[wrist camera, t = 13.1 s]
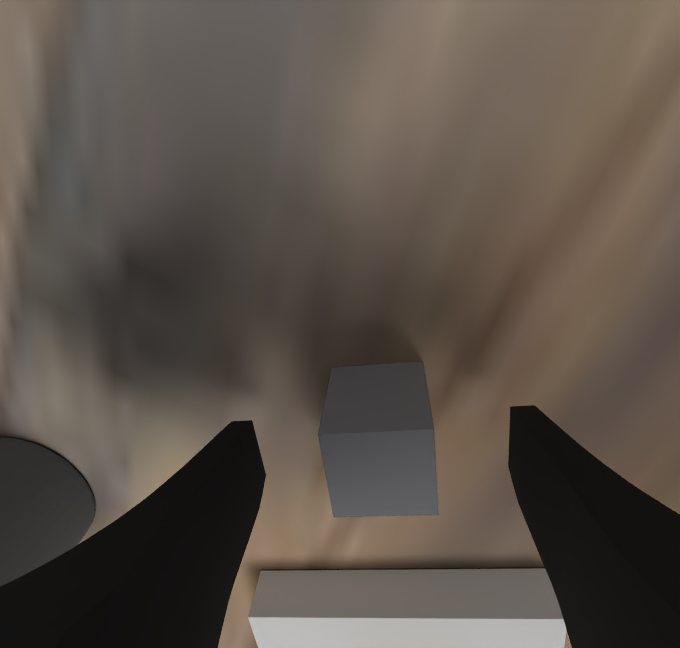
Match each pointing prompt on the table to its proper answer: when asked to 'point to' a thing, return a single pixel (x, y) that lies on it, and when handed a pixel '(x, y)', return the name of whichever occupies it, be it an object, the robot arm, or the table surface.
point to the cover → (379, 441)
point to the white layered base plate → (407, 609)
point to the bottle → (38, 507)
